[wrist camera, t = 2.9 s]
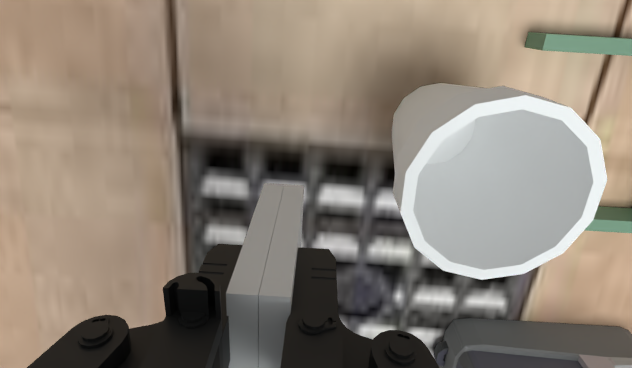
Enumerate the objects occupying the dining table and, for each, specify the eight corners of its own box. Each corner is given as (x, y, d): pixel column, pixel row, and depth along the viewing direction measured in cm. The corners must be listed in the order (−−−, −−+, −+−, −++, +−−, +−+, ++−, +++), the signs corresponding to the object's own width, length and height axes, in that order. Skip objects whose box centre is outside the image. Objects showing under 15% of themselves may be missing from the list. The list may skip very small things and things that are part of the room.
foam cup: (378, 58, 29) (416, 90, 17) (506, 63, 29) (635, 99, 17) (367, 179, 33) (392, 276, 21) (481, 184, 33) (571, 283, 21)
